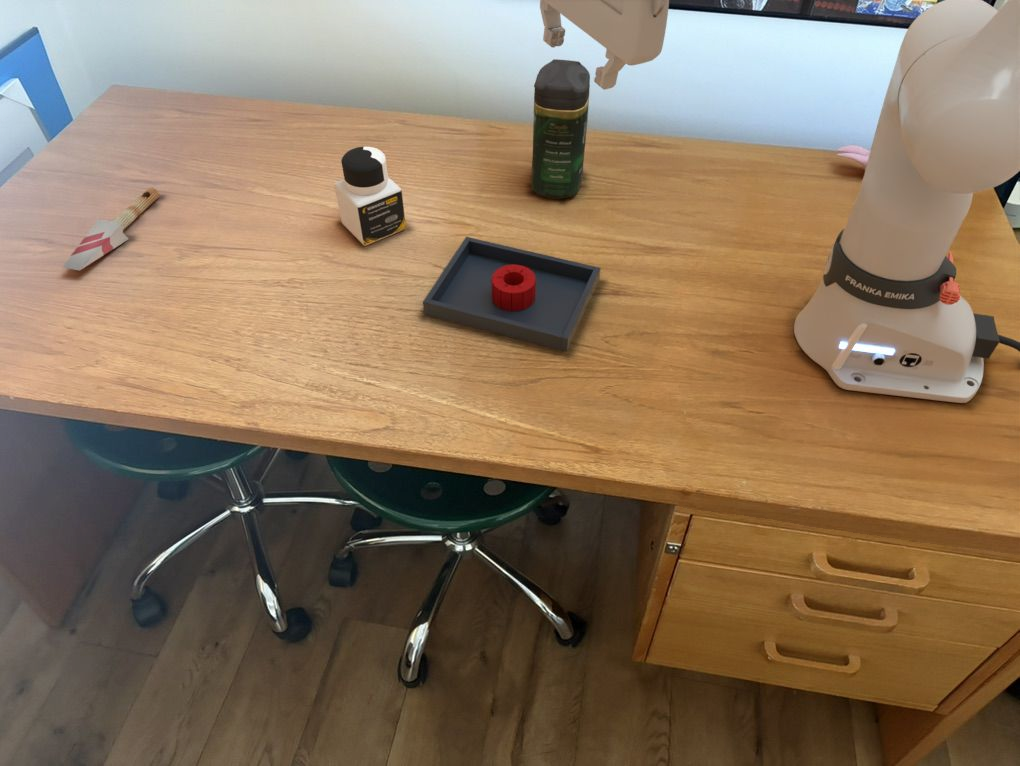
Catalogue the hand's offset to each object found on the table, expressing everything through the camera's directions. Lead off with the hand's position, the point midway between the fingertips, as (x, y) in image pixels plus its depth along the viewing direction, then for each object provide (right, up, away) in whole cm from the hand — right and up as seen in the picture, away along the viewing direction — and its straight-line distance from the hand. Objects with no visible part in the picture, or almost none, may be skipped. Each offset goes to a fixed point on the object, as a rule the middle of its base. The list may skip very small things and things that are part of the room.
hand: (577, 64), depth 85 cm
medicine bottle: (-27, -11, +33) cm, 44 cm away
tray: (-7, -23, +22) cm, 32 cm away
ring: (-7, -22, +22) cm, 32 cm away
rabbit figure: (+52, -1, +42) cm, 66 cm away
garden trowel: (-65, -13, +32) cm, 73 cm away
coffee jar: (0, -3, +40) cm, 41 cm away
